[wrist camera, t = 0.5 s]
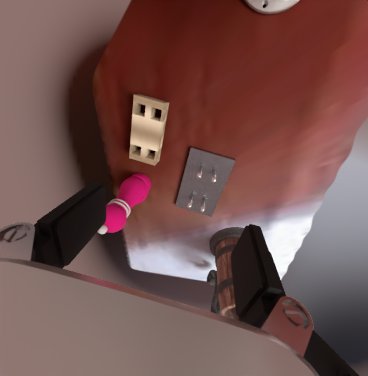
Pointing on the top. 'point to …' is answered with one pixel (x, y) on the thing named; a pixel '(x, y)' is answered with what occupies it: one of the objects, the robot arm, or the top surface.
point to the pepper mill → (125, 202)
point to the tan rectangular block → (147, 129)
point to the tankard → (223, 271)
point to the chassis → (203, 181)
